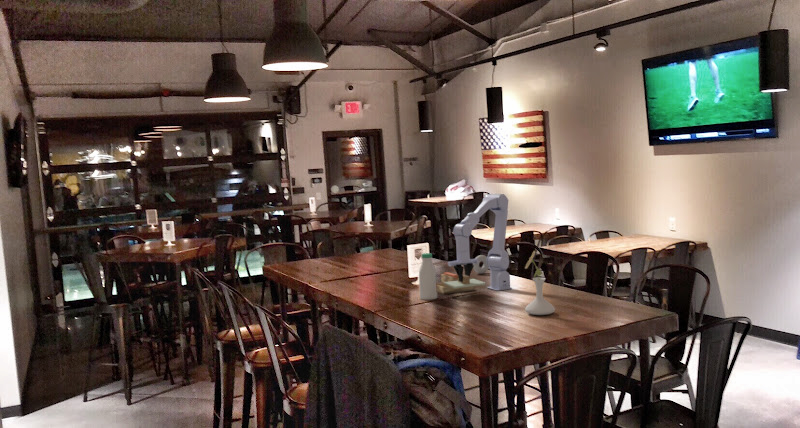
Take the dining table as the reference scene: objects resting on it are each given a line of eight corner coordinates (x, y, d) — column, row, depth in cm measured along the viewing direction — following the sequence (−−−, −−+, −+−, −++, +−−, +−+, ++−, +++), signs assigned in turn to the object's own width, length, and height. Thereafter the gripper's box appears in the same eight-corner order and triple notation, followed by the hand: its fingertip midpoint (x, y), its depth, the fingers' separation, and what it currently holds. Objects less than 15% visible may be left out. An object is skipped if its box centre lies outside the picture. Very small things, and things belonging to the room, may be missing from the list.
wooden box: (474, 289, 316) (474, 283, 315) (443, 294, 309) (443, 287, 309) (462, 286, 326) (462, 280, 325) (432, 290, 319) (432, 284, 319)
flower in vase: (534, 309, 270) (532, 247, 268) (560, 312, 263) (558, 248, 261) (517, 316, 260) (515, 251, 258) (544, 319, 253) (542, 252, 251)
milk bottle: (435, 300, 296) (434, 254, 295) (418, 300, 298) (416, 255, 297) (438, 296, 304) (436, 252, 303) (421, 296, 306) (419, 252, 304)
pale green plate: (485, 284, 301) (485, 275, 301) (455, 288, 295) (455, 279, 295) (473, 280, 311) (473, 271, 310) (444, 283, 305) (443, 275, 304)
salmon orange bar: (457, 278, 327) (457, 274, 327) (453, 278, 326) (453, 275, 326) (447, 275, 336) (447, 272, 336) (443, 275, 335) (443, 272, 335)
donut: (475, 275, 356) (474, 256, 355) (471, 274, 359) (471, 255, 358) (491, 273, 360) (490, 254, 359) (487, 272, 363) (487, 253, 363)
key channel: (462, 286, 326) (461, 276, 325) (453, 287, 324) (453, 277, 323) (449, 282, 337) (448, 273, 337) (441, 283, 336) (440, 274, 335)
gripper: (472, 248, 308) (473, 277, 309) (444, 251, 302) (445, 281, 303) (480, 249, 301) (481, 280, 302) (451, 252, 296) (453, 283, 297)
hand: (464, 280), depth 302 cm, fingers closed on pale green plate, 3 cm apart
